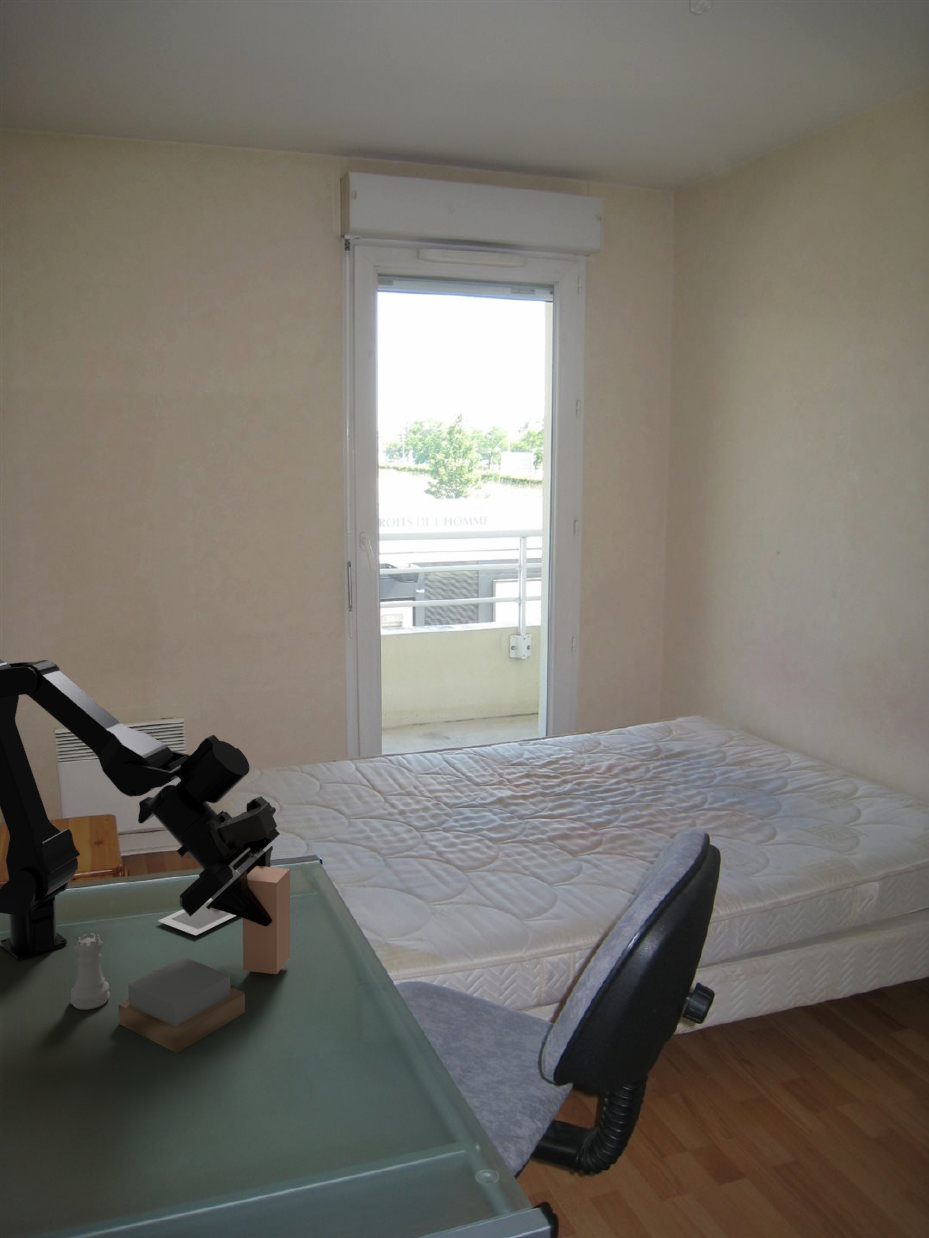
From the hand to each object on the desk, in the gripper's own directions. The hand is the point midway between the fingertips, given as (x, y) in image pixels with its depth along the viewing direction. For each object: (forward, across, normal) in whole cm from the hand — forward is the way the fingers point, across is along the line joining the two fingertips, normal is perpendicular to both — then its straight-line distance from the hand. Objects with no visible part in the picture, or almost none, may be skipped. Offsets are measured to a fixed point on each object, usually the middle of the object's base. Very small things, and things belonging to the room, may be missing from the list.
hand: (276, 915), depth 118 cm
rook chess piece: (-8, -11, +19) cm, 24 cm away
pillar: (+4, 0, +6) cm, 7 cm away
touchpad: (-5, +15, +17) cm, 23 cm away
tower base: (+1, -12, +11) cm, 16 cm away
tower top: (-1, -12, +9) cm, 15 cm away
